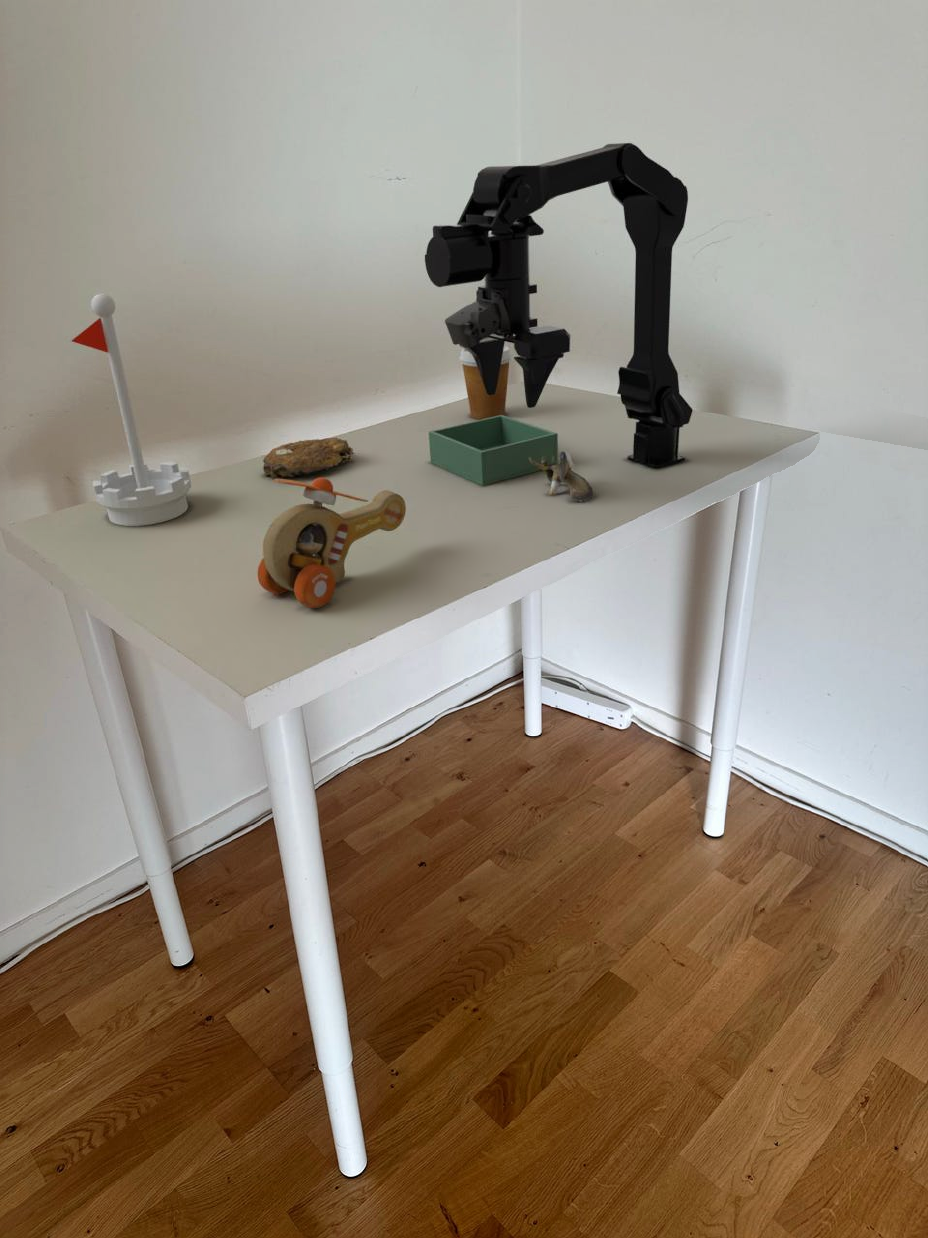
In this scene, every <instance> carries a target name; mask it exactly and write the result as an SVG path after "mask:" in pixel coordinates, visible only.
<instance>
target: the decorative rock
mask: <svg viewBox="0 0 928 1238" xmlns="http://www.w3.org/2000/svg"><path fill="white" fill-rule="evenodd" d="M355 454H356V453H355V452H354V449H353V447H350V445H349V443H348V441H347V439H341V438H338V437H327V438H326V437H325V438H321V439H317V438H316V439H304V440H298V441H295V442H288V443H285V444H281V445H279V446H277V447H275V448H272V449H271V450H270V451H269V453H268V454H267V455H265V456H264V457H263V460H262V462H263V467H262V468H263V471H264V476H265V477H267V476H270V477H271V479H277V476H278V475H279V476H281V477H282V478H285V477H289V478H295V477H296V476H301V475H302V474H304V475H306V476H308V475H309V474H314V473H315V472H317V471H320V470H321V471H327V470H329V468H333V467H337V466H338V465H342V464H345V463H347V462H348V461H350V460H351V458H352V457H353V455H355Z"/></svg>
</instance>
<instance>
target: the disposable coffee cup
mask: <svg viewBox="0 0 928 1238" xmlns="http://www.w3.org/2000/svg"><path fill="white" fill-rule="evenodd" d="M512 357H513V354H512V353H511V351H510V348H509V346H506V345H504V349H503V354H502V360H501V366H500V372H499V378H498V384H497V388H496V392H495V394H494V395H488V394H487V392H486V390H485V387H484V384H483V381H482V378H481V375H480V373H479V370H478V367H477V365H476V362H475V360H474V357H473V356H472V354H471V353H469V352H468V351H467V350H466V349H464V348H462V349H461V352H460V356H459V359H458V360H459V361H460V364H461V365H462V371H463V376H464V377H463V378H464V383H465V388H466V394H467V399H468V400H467V402H468V406H469V412H470V417H471V418H473V419H476V420H482V419H486V418H490V417H495V416H499V415H503V416H506V404H507V403H506V402H507V394H508V393H507V392H508V390H507V389H508V381H509V370H510V362H511V358H512Z"/></svg>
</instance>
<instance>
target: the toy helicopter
mask: <svg viewBox="0 0 928 1238" xmlns="http://www.w3.org/2000/svg"><path fill="white" fill-rule="evenodd" d="M273 481H274V482H276V483H280V484H283V485H291V486H296V487H297V486H298V487H304V489H303V494H302V496H303V497H304V498H306V499H309V500H311V501H313V503H302V504H301V503H300V504H297V505H294V506H292V507H289V508H288V509H286V510H284V511H283V512H281V513H280V514H279V515H278V516H277V517H276V518H274V520H272V522H271V523H270V524H269V526H268V528H267V530H266V533H265V534H264V538H263V543H262V556H263V558H262V559H261V560H260V562H259V564H258V567H257V581H258V583H259V585H260V586H261V588H263V589H264V590H265V591H267V592H270V593H272V594H275V595H280V594H284V593H286V592H288V591H290V592H293V593H294V596H295V598H296V600H297V601H298V603H300V604H301V605H303V606H306V607H309V608H312V609H317V608H318V609H319V608H322V607H323V606H325V605H326V604H327V603H328V602H330V600H331V599H332V597H333V595H334V594H335V593H334V592H335V590H336V584H337V583H339V582H341V581H342V580H343V579H344V577H345V574H346V571H345V570H346V569H345V560H346V558H347V556H348V554H349V550H350V548H351V546H352V544H354V543H355V542H357V541H358V540H359V539H362V538H364V537H365V536H368V535H370V534H373V533H375V532H376V531H378V530H381V531H384V532H392V531H394V530H397V529H398V528H399V527H400V526H401V524H402V523H403V521H404V520H405V516H406V512H407V509H406V508H407V507H406V506H407V505H406V502H405V499H404V498H403V496H402V495H400V494H399V493H396V492H393V491H391V490H389V489H388V490H387V489H386V490H381V491H379V492H378V493H377V494H376V495H374V497H373V498H372V500H371V501H370V502H369V500H368V499H364V498H360V497H357V496H353V495H349V494H346V493H342V492H338V491H334V485H333V483H332V482H331V480H330V479H328V478H325V477H317V478H315V479H314V480H313V481H312V483H311V484H309V483H306V482H302V481H297V480H293V479H286V478H285V479H284V478H273ZM337 496H340V497H343V498H347V499H351V500H355V501H359V502H364V503H365V502H366V503H367V502H369V503H368V504H366V505H362V506H360V507H359V506H358V507H357V508H354V509H350V510H347V511H345V512H342V513H337V512H336V511H335V510H332V509H330V508H328V507H325V506H323V504H324V505H329V506H334V505H335V504H336V500H337Z"/></svg>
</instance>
